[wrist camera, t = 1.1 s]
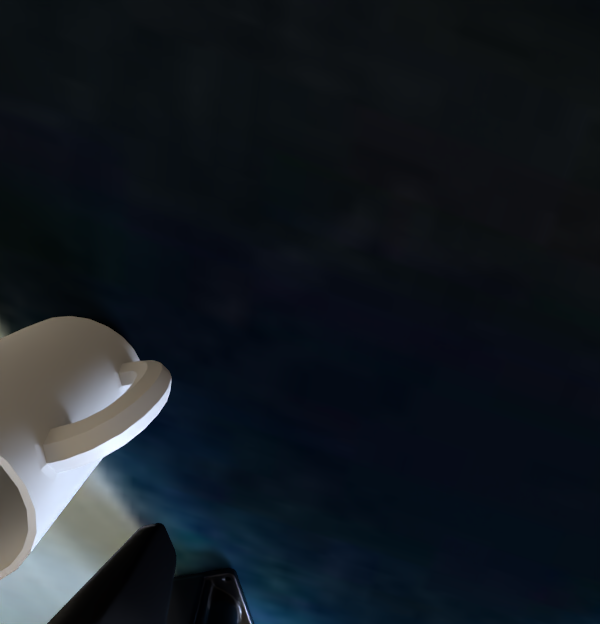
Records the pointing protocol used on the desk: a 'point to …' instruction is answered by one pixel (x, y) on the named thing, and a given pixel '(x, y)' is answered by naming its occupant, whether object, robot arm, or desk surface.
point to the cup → (64, 419)
